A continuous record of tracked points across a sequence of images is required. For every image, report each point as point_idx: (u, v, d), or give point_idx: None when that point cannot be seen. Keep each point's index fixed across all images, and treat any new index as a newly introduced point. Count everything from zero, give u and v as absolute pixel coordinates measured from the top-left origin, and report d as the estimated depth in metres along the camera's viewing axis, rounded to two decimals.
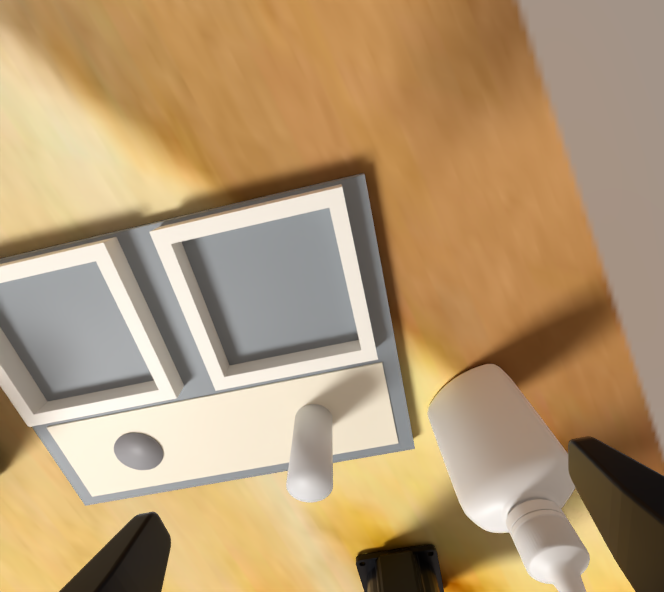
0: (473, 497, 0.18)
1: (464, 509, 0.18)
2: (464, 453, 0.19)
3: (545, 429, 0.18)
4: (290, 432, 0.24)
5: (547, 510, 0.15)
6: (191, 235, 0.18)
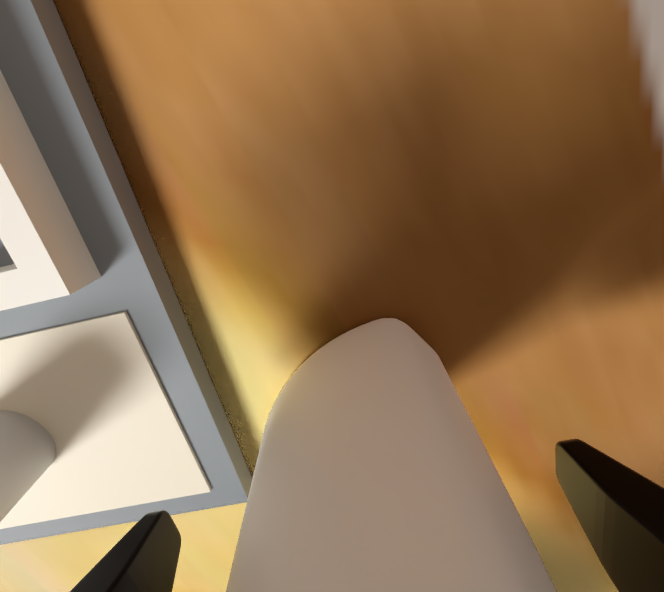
0: None
1: None
2: (249, 557, 0.06)
3: (475, 497, 0.05)
4: None
5: None
6: None
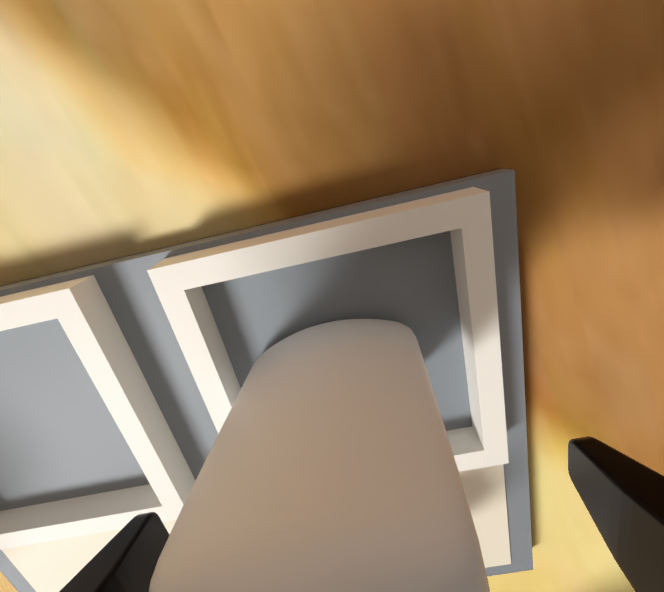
0: (183, 566, 0.06)
1: (151, 585, 0.06)
2: (247, 446, 0.08)
3: (456, 470, 0.07)
4: None
5: None
6: (219, 276, 0.11)
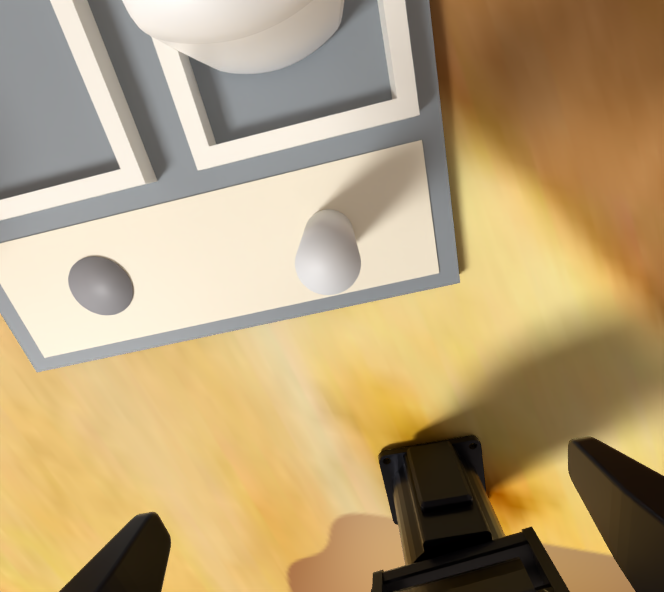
0: None
1: None
2: None
3: None
4: None
5: None
6: None
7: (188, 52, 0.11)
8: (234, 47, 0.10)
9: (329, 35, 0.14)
